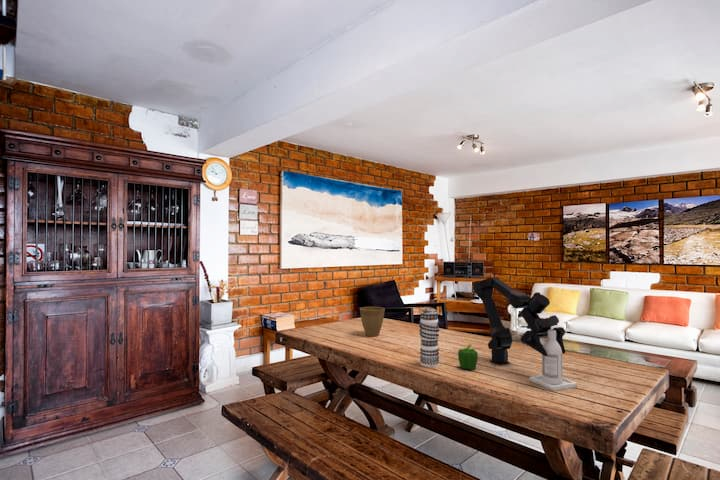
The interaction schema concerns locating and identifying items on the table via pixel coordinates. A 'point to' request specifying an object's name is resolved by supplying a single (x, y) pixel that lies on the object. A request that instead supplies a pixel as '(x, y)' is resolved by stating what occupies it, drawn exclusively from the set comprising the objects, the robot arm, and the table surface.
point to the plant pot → (372, 320)
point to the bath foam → (552, 360)
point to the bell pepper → (467, 358)
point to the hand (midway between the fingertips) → (555, 354)
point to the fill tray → (565, 385)
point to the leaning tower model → (429, 337)
